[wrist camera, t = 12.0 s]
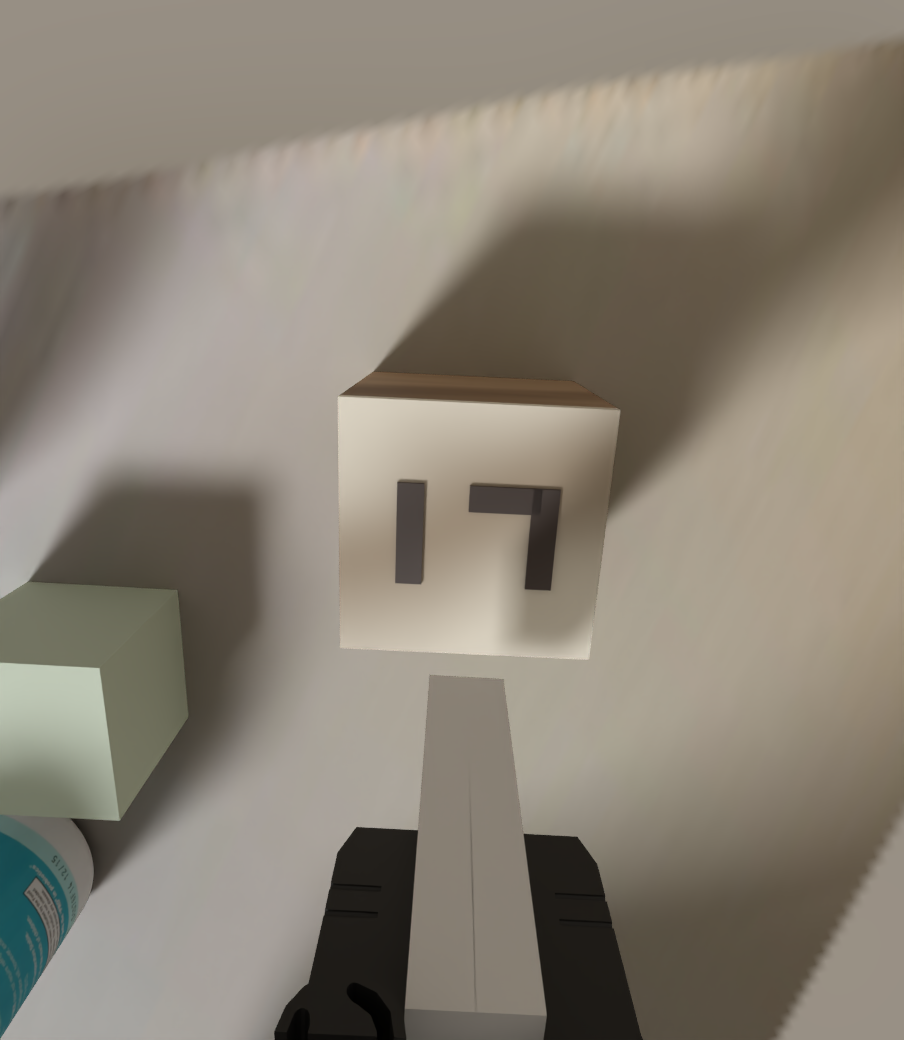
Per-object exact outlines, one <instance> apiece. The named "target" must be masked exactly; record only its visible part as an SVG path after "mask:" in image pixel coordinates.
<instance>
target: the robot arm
mask: <svg viewBox="0 0 904 1040" xmlns="http://www.w3.org/2000/svg"><path fill="white" fill-rule="evenodd" d="M274 1035H275V1040H643V1039H642V1036H641V1033H640V1030H639V1026H638V1022H637V1018H636V1014H635V1010H634V1006H633V1002H632V999H631V995H630V991H629V987H628V983H627V979H626V975H625V971H624V967H623V963H622V960H621V956H620V952H619V948H618V944H617V940H616V936H615V932H614V929H612V921H611V917H610V913H609V909H608V905H607V902H605V893H604V889H603V885H602V882H601V878H600V874H599V870H598V866H597V863H596V862H595V861H594V859H593V858H592V856H591V855H590V854H589V852H588V851H587V850H586V848H585V847H584V845H583V844H582V843H581V841H580V840H579V839H578V837H570V836H551V835H533V834H523V827H522V819H521V811H520V804H519V796H518V788H517V780H516V773H515V765H514V757H513V750H512V742H511V734H510V726H509V719H508V711H507V703H506V695H505V688H504V680H503V679H492V678H474V677H456V676H438V675H430V678H429V691H428V705H427V718H426V731H425V745H424V758H423V772H422V785H421V798H420V812H419V825H418V830H400V829H381V828H362V827H356V829H355V830H354V831H353V833H352V834H351V835H350V837H349V838H348V839H347V841H346V842H345V843H344V845H343V846H342V847H341V849H340V850H339V851H338V853H337V858H336V863H335V867H334V872H333V876H332V881H331V888H330V890H329V894H328V899H327V903H326V908H325V915H324V917H323V921H322V926H321V930H320V935H319V939H318V944H317V948H316V953H315V957H314V962H313V966H312V971H311V975H310V980H309V984H307V985H305V986H304V987H303V988H302V989H301V990H300V991H299V992H298V993H297V994H296V996H295V997H294V998H293V999H292V1000H291V1001H290V1002H289V1003H288V1004H287V1005H286V1007H285V1009H284V1011H283V1013H282V1016H281V1018H280V1020H279V1022H278V1025H277V1027H276V1029H275V1031H274Z"/></svg>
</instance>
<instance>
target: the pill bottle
mask: <svg viewBox="0 0 904 1040" xmlns="http://www.w3.org/2000/svg"><path fill="white" fill-rule="evenodd" d="M93 877H94V867H93V860H92V855H91V852H90V849H89V846H88V844H87V842H86V840H85V838H84V836H83V834H82V833H81V831H80V830H79V829H78V827H77V826H76V825H75V823H74V822H73V821H72V820H71V819H70V818H57V817H38V816H19V815H0V1038H1V1037H2V1035H3V1034H4V1032H5V1030H6V1029H7V1027H8V1026H9V1024H10V1023H11V1021H12V1019H13V1018H14V1016H15V1015H16V1013H17V1012H18V1010H19V1009H20V1007H21V1005H22V1004H23V1002H24V1001H25V999H26V998H27V996H28V995H29V993H30V991H31V990H32V988H33V987H34V985H35V984H36V982H37V981H38V979H39V977H40V976H41V974H42V973H43V971H44V970H45V968H46V967H47V965H48V963H49V962H50V960H51V959H52V957H53V955H54V954H55V952H56V951H57V949H58V948H59V946H60V945H61V943H62V941H63V940H64V938H65V937H66V935H67V934H68V932H69V930H70V929H71V927H72V926H73V924H74V922H75V921H76V919H77V918H78V916H79V915H80V913H81V911H82V910H83V908H84V906H85V904H86V902H87V900H88V897H89V895H90V892H91V889H92V884H93Z"/></svg>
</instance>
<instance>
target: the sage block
mask: <svg viewBox="0 0 904 1040" xmlns="http://www.w3.org/2000/svg"><path fill="white" fill-rule="evenodd" d="M187 719H188V705H187V693H186V682H185V670H184V658H183V646H182V634H181V622H180V611H179V599H178V590H169V589H151V588H133V587H115V586H97V585H79V584H61V583H43V582H27V583H25V584H24V585H22V586H20V587H19V588H17V589H16V590H14V591H13V592H11V593H9V594H8V595H6V596H5V597H3V598H1V599H0V815H19V816H38V817H57V818H76V819H94V820H113V821H120V820H121V818H122V817H123V815H124V814H125V812H126V811H127V809H128V808H129V806H130V805H131V803H132V802H133V800H134V799H135V797H136V795H137V794H138V792H139V791H140V789H141V788H142V786H143V785H144V783H145V782H146V780H147V779H148V777H149V776H150V774H151V773H152V771H153V770H154V768H155V767H156V765H157V764H158V762H159V761H160V759H161V758H162V756H163V755H164V753H165V752H166V750H167V749H168V747H169V746H170V744H171V743H172V741H173V740H174V738H175V737H176V735H177V734H178V732H179V731H180V729H181V728H182V726H183V725H184V723H185V722H186V720H187Z"/></svg>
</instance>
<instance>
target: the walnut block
mask: <svg viewBox="0 0 904 1040" xmlns="http://www.w3.org/2000/svg"><path fill="white" fill-rule="evenodd" d="M620 412H621V410H619V409H618V408H616V407H615V406H613V405H611V404H610V403H608V402H607V401H605V400H603V399H602V398H600V397H598V396H597V395H595V394H594V393H592V392H590V391H589V390H587V389H585V388H584V387H582V386H581V385H579V384H577V383H576V382H574V381H560V380H539V379H519V378H498V377H477V376H456V375H436V374H415V373H394V372H372V373H371V374H369V375H368V376H366V377H365V378H364V379H362V380H361V381H359V382H358V383H356V384H355V385H354V386H352V387H351V388H349V389H348V390H346V391H345V392H344V393H342V394H341V395H339V396H338V470H339V584H340V648H349V649H370V650H391V651H413V652H434V653H455V654H476V655H497V656H519V657H540V658H561V659H582V660H589V655H590V647H591V639H592V631H593V623H594V615H595V608H596V600H597V592H598V584H599V576H600V568H601V561H602V553H603V545H604V537H605V529H606V521H607V514H608V506H609V498H610V490H611V482H612V474H613V467H614V459H615V451H616V443H617V435H618V427H619V420H620Z"/></svg>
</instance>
